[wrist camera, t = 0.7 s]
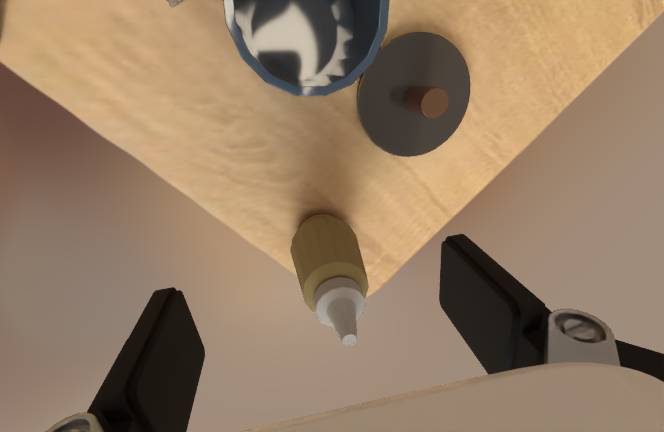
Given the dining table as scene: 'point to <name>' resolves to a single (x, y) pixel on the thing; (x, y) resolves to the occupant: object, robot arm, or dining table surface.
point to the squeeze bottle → (331, 273)
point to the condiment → (173, 2)
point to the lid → (414, 94)
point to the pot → (308, 40)
